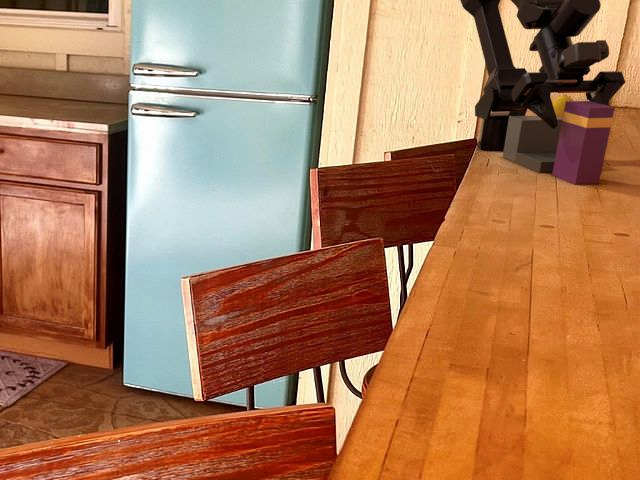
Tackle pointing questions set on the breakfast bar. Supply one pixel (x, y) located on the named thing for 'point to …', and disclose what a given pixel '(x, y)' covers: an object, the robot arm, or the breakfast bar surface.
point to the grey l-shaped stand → (532, 142)
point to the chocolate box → (582, 142)
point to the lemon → (560, 104)
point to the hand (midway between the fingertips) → (579, 126)
